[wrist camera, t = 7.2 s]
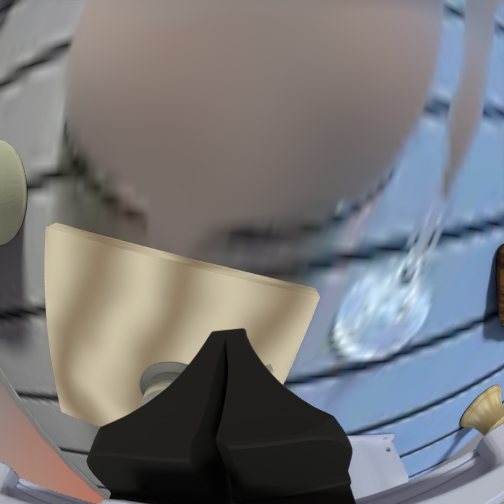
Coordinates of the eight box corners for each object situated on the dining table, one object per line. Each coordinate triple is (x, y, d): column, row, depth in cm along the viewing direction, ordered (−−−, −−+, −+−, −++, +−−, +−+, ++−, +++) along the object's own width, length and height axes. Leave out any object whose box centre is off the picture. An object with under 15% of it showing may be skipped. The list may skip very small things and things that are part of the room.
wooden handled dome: (138, 372, 21) (127, 400, 18) (199, 369, 21) (195, 399, 18) (178, 451, 24) (174, 476, 21) (227, 450, 24) (227, 475, 21)
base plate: (314, 288, 21) (320, 298, 20) (244, 449, 27) (245, 461, 25) (56, 222, 19) (44, 227, 17) (66, 402, 24) (61, 412, 23)
